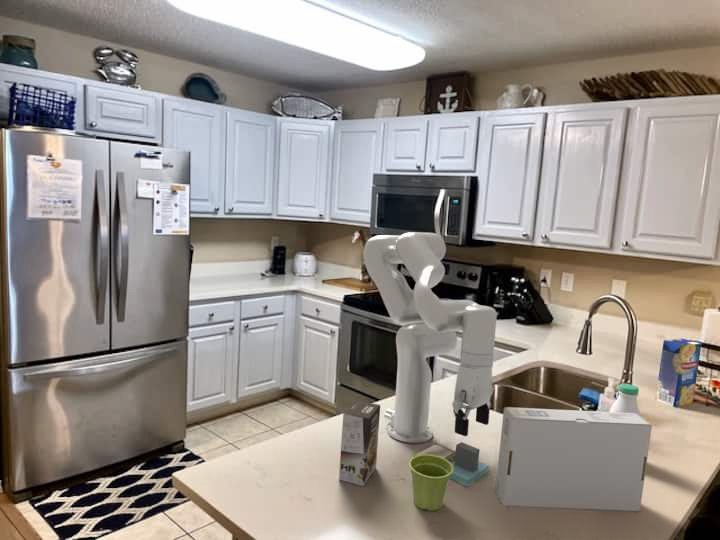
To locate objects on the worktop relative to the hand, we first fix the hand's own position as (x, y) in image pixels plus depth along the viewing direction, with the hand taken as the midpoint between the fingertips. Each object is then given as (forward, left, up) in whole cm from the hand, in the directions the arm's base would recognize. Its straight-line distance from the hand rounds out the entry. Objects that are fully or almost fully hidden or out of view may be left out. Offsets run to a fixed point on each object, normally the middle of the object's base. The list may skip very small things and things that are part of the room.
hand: (471, 428), depth 120 cm
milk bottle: (+23, +39, -12) cm, 47 cm away
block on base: (-1, 0, -12) cm, 12 cm away
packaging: (+21, +7, -12) cm, 25 cm away
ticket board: (-9, 0, -12) cm, 15 cm away
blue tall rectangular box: (+24, +102, -12) cm, 106 cm away
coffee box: (-18, -20, -12) cm, 29 cm away
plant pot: (0, -17, -12) cm, 21 cm away
